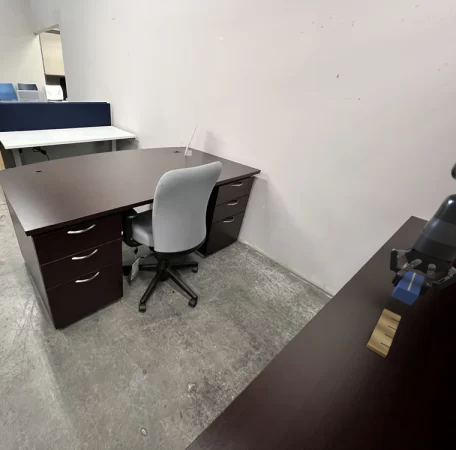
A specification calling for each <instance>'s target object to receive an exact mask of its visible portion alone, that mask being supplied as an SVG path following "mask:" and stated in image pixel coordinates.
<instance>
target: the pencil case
mask: <svg viewBox="0 0 456 450" xmlns="http://www.w3.org/2000/svg"><path fill="white" fill-rule="evenodd" d="M424 280H425V276H423V275H420V274H417V273H416V272H413V271H411V270H410V271H409V272H407V273H405V274H404V276H403V278H402V279H401V280H400V282H399V283H398V285H397V286H396V287H394V290H393V292H392V293H391V297H392V298H394V299H395V300H398V301H400V302H403V303H404V304H407V305H409V306H412V305H413V304H414V303H415V301H416V300H417V298H419V297H420V296H419V293H420V290H421V286H422V283H423V282H424ZM418 296H419V297H418Z"/></svg>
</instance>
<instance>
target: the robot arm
mask: <svg viewBox="0 0 456 450" xmlns="http://www.w3.org/2000/svg"><path fill="white" fill-rule="evenodd" d="M450 176H451V178H452V179H453V180H454V181H456V161H455V162H454V163H453V165H452V166H451V169H450ZM420 231H421V232H419V234H418V236H417V237H416V239H415V240H414V241H413V244H412V246H411V247H409V248H408V249H406V250H403V249H399V248H397V247H394V248H392V249H391V251H390V259H389V271H392V272H394V273H395V275H394V277H393V278H392V280H391V284H392V286H393V287H394V288H395V287H396V286H397V285H398V283H399V282H400V280H401V279H402V278H403V276H404V274H405V273H407V272H409V271H410V272H411V271H412V270H415V271H418V272H419V271H420V272H421V273H423V274H426V275H425V279H424V280H425V281H423V283H422V286H421V290H420V293H419V296H418V297H417V298H419V297H420V296H421V297H424V296H425V295H426V294H427V292H428V291H429V290H430V289H431V288H435V289H437V290H443V289H445V288H447V287H449V286H451V285H453V284H455V283H456V268H455V267H454V266H453V262H454V260H455V259H456V193H451V194H448V195H447V196H446V197H445V198H444V199H443V200H442V201H441V203H440V205H439V206H438V208H437V210H435V212H434V214H433V215H432V217H431V218H430V219H429V220H428V221H427V222H426V224H425V225H424V226H423V228H422V229H421V230H420ZM402 256H405V259H406V263H405V264H404V265H403V266H402V267H400V266H399V265H398V263H399V259H400V258H402ZM446 271H448V272H447V276H445V277H443V278H441V279H440V280H438V281H437V280H434V277H435V274H438V273H442V272H446Z"/></svg>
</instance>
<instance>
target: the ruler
mask: <svg viewBox="0 0 456 450" xmlns="http://www.w3.org/2000/svg"><path fill="white" fill-rule="evenodd" d="M401 319H402V316H401V315H399V314H397V313H394V312H392V311H390V310H389V309H387V308H384V309H383V310H382V312H381V314H380V317H379V319H378V320H377V323H376V325H375V327H374V329H373V332H372V333H371V335H370V337H369V340H368V342H367V344H366V346H365V347H366V348H367V349H368V350H370V351H372V352H374V353H376V354H377V355H379V356H381V357H382V358H383V359H385V358H386V357H387V355H388V353H389V350H390V348H391V346H392V343H393V341H394V337H395V335H396V332H397V329H398V328H399V327H398V326H399V324H400V321H401Z"/></svg>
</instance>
